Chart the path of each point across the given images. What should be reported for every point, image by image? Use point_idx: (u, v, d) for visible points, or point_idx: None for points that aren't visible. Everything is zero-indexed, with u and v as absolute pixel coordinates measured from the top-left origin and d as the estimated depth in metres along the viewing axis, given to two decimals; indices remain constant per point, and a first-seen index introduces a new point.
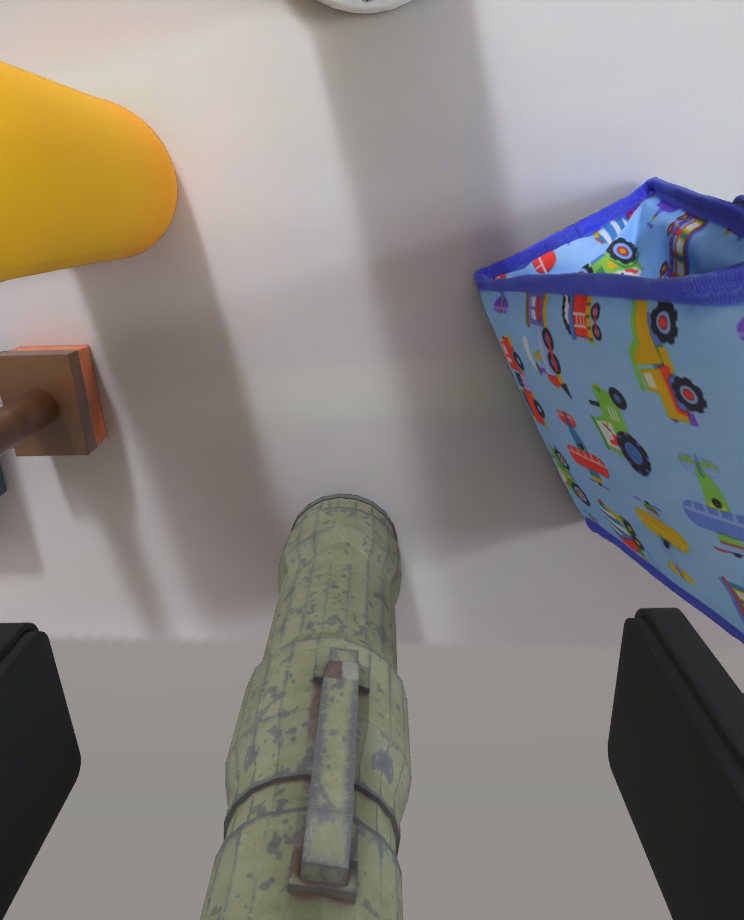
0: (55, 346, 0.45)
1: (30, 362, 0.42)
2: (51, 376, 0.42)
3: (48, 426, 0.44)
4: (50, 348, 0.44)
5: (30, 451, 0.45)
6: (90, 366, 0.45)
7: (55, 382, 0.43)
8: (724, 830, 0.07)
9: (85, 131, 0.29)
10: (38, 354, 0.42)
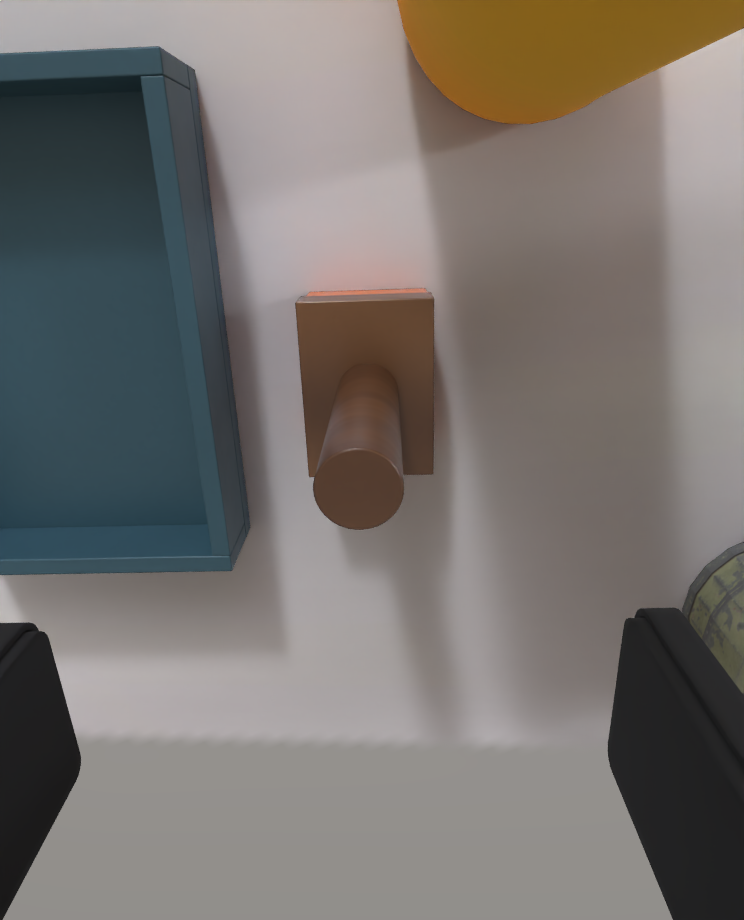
0: (372, 290, 0.26)
1: (364, 313, 0.24)
2: (396, 338, 0.24)
3: None
4: (370, 293, 0.26)
5: None
6: None
7: (402, 348, 0.24)
8: (724, 830, 0.07)
9: None
10: (378, 299, 0.24)
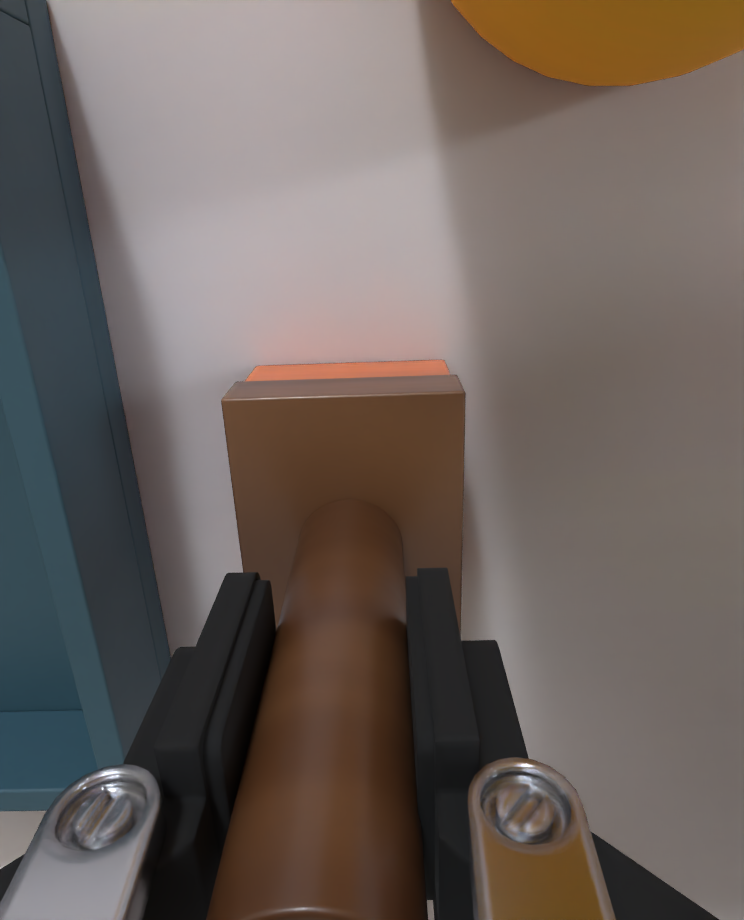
0: (357, 364, 0.16)
1: (343, 417, 0.14)
2: (399, 458, 0.14)
3: None
4: (355, 370, 0.16)
5: None
6: None
7: (409, 474, 0.14)
8: (414, 742, 0.08)
9: None
10: (368, 392, 0.13)
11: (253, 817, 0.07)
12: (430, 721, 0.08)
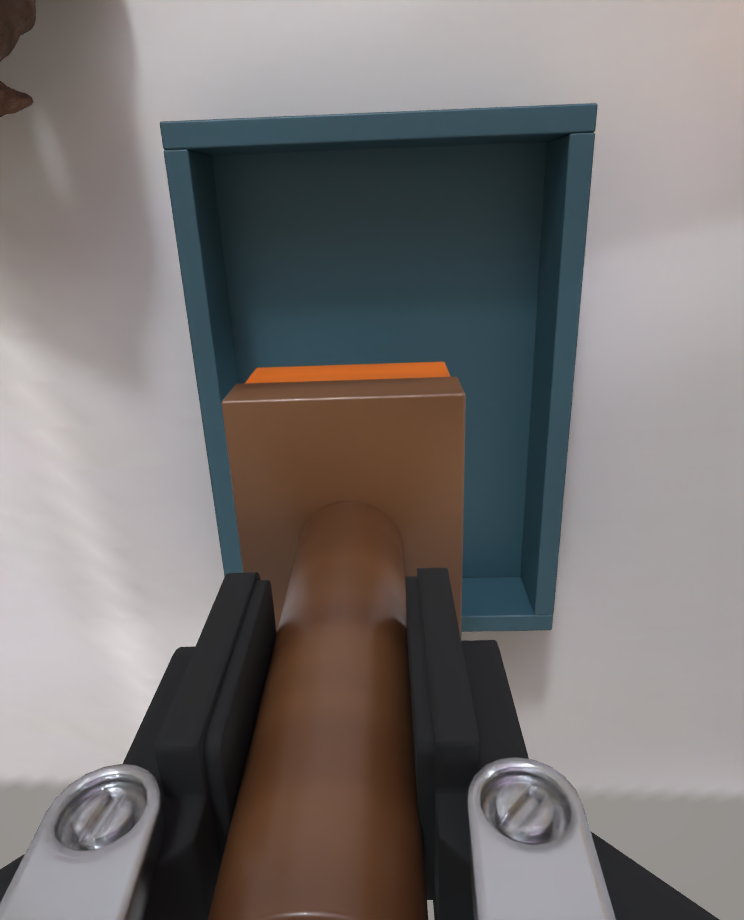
0: (357, 366, 0.16)
1: (343, 419, 0.14)
2: (399, 460, 0.14)
3: None
4: (355, 372, 0.16)
5: None
6: None
7: (409, 477, 0.14)
8: (414, 742, 0.08)
9: None
10: (368, 394, 0.13)
11: (253, 821, 0.07)
12: (430, 722, 0.08)
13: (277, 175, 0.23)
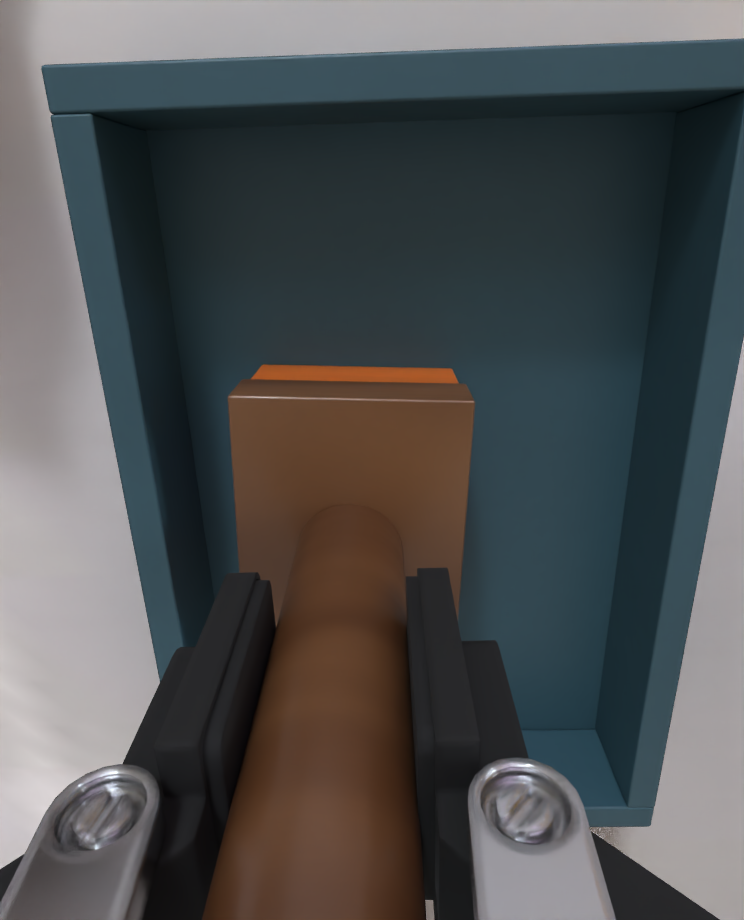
0: (365, 368, 0.16)
1: (350, 421, 0.13)
2: (405, 465, 0.14)
3: None
4: (362, 374, 0.16)
5: None
6: None
7: (414, 482, 0.14)
8: (415, 742, 0.08)
9: None
10: (377, 397, 0.13)
11: (251, 827, 0.07)
12: (430, 721, 0.08)
13: (250, 162, 0.15)
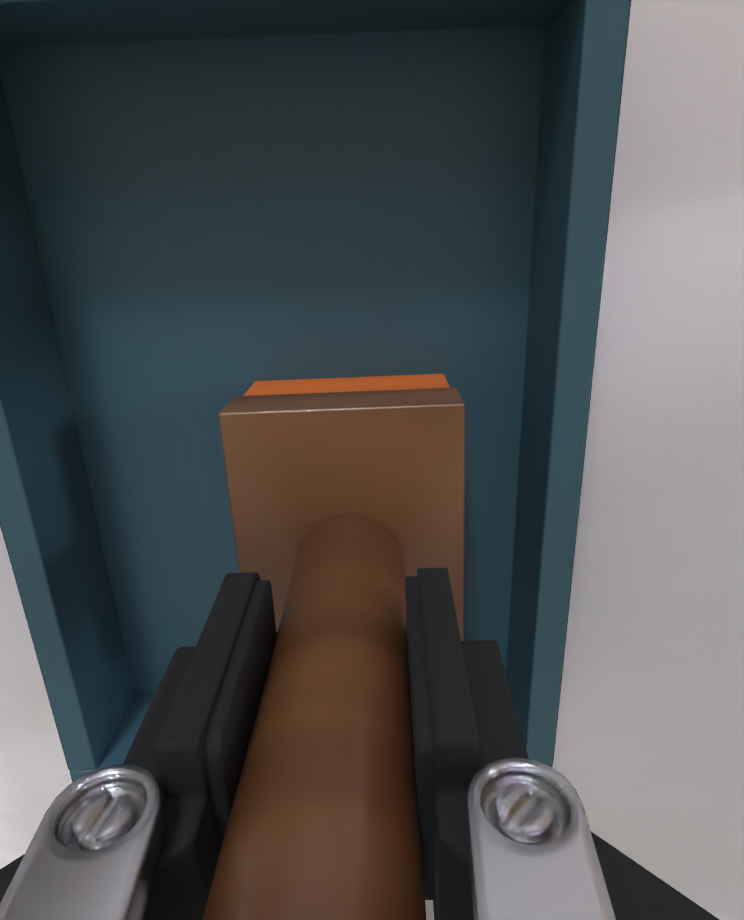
0: (356, 378, 0.16)
1: (341, 431, 0.13)
2: (399, 472, 0.14)
3: None
4: (354, 385, 0.16)
5: None
6: None
7: (409, 489, 0.14)
8: (414, 742, 0.08)
9: None
10: (366, 405, 0.13)
11: (245, 841, 0.07)
12: (431, 721, 0.08)
13: (106, 81, 0.14)
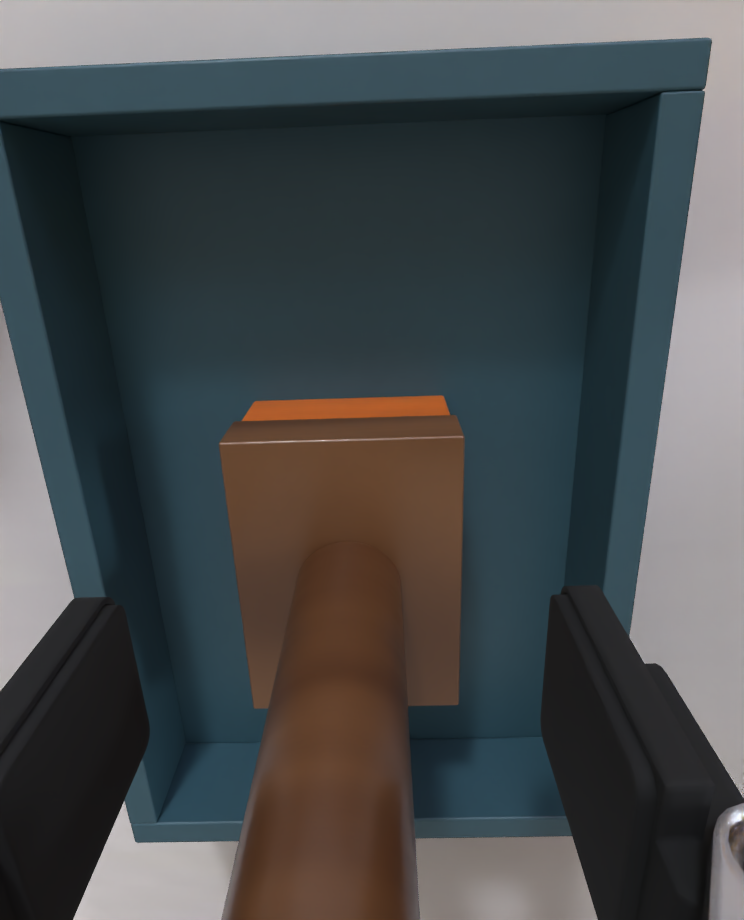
0: (356, 400, 0.16)
1: (341, 461, 0.13)
2: (398, 501, 0.14)
3: None
4: (353, 408, 0.16)
5: None
6: None
7: (408, 517, 0.14)
8: (614, 781, 0.07)
9: None
10: (366, 436, 0.13)
11: (248, 907, 0.07)
12: (645, 761, 0.07)
13: (178, 168, 0.15)
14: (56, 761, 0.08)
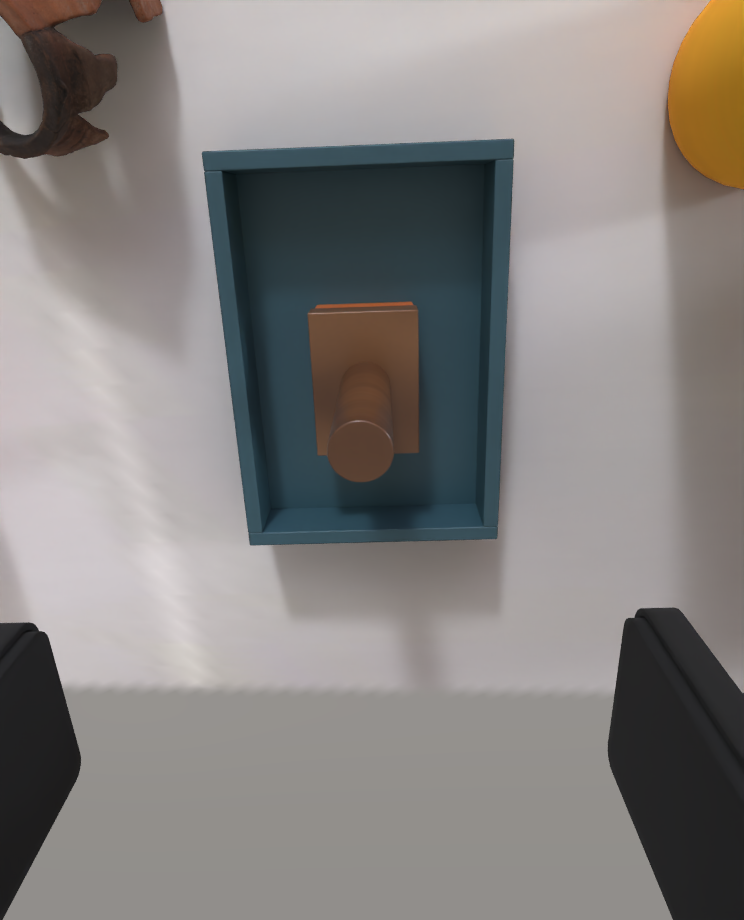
0: (368, 303, 0.32)
1: (362, 322, 0.30)
2: (388, 342, 0.30)
3: None
4: (367, 305, 0.32)
5: None
6: None
7: (393, 350, 0.30)
8: (724, 830, 0.07)
9: None
10: (374, 310, 0.30)
11: (340, 417, 0.23)
12: None
13: (285, 188, 0.31)
14: None
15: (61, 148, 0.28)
